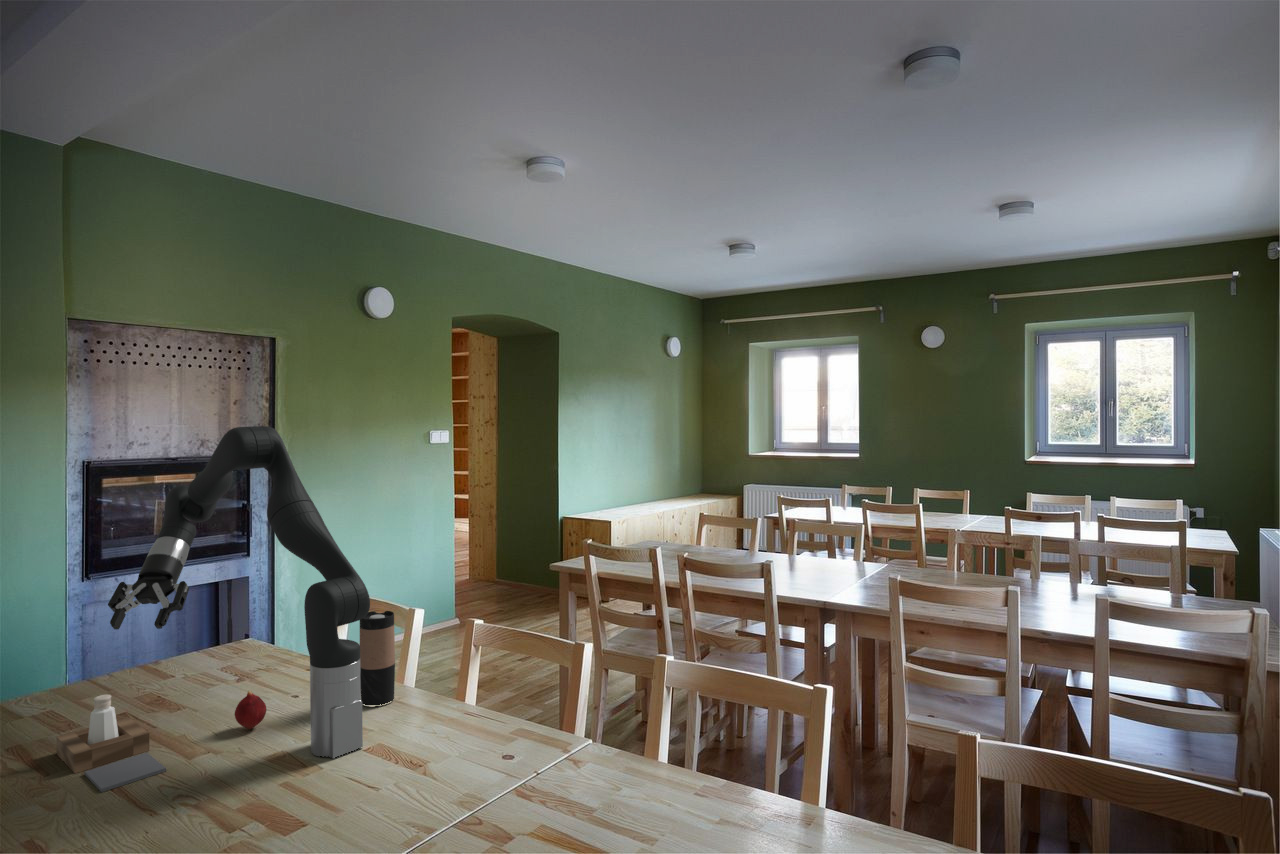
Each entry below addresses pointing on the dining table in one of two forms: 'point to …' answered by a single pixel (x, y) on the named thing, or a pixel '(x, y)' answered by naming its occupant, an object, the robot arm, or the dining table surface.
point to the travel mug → (377, 658)
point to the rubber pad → (124, 772)
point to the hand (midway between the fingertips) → (136, 627)
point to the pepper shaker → (102, 721)
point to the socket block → (102, 746)
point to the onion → (250, 711)
